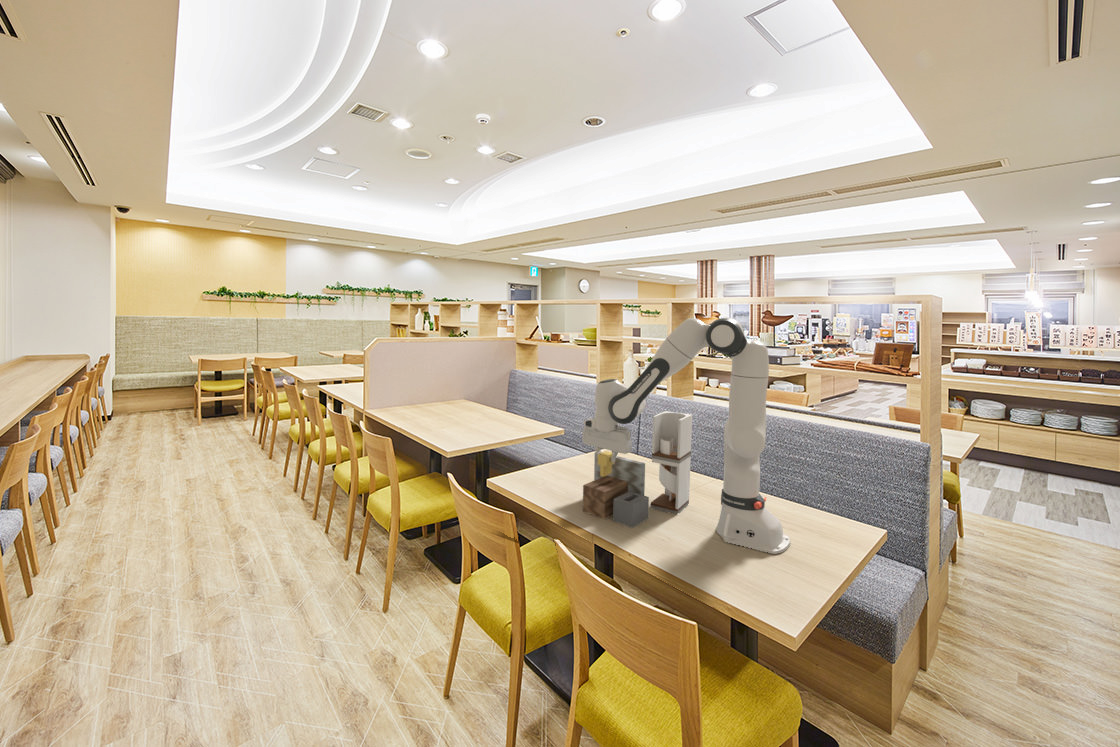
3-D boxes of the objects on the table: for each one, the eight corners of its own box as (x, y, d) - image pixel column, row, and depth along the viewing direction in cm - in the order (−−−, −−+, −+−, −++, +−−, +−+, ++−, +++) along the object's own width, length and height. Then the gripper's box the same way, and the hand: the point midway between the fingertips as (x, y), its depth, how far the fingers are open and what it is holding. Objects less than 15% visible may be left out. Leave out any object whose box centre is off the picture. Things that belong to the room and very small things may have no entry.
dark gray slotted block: (648, 518, 168) (648, 496, 167) (632, 527, 161) (632, 505, 160) (629, 512, 173) (629, 491, 172) (613, 520, 166) (613, 498, 165)
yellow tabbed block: (614, 474, 175) (614, 453, 174) (606, 477, 171) (606, 456, 170) (605, 471, 177) (606, 450, 176) (597, 475, 174) (597, 453, 173)
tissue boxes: (643, 510, 175) (645, 463, 173) (618, 524, 163) (619, 474, 161) (597, 494, 190) (597, 451, 188) (570, 506, 178) (571, 460, 176)
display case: (662, 498, 187) (665, 411, 182) (688, 504, 181) (692, 414, 176) (650, 507, 177) (653, 416, 173) (677, 514, 171) (681, 420, 167)
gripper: (635, 426, 167) (634, 464, 169) (590, 417, 181) (590, 453, 183) (625, 429, 162) (624, 468, 164) (580, 420, 176) (579, 456, 178)
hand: (606, 460), depth 174 cm, fingers closed on yellow tabbed block, 4 cm apart
